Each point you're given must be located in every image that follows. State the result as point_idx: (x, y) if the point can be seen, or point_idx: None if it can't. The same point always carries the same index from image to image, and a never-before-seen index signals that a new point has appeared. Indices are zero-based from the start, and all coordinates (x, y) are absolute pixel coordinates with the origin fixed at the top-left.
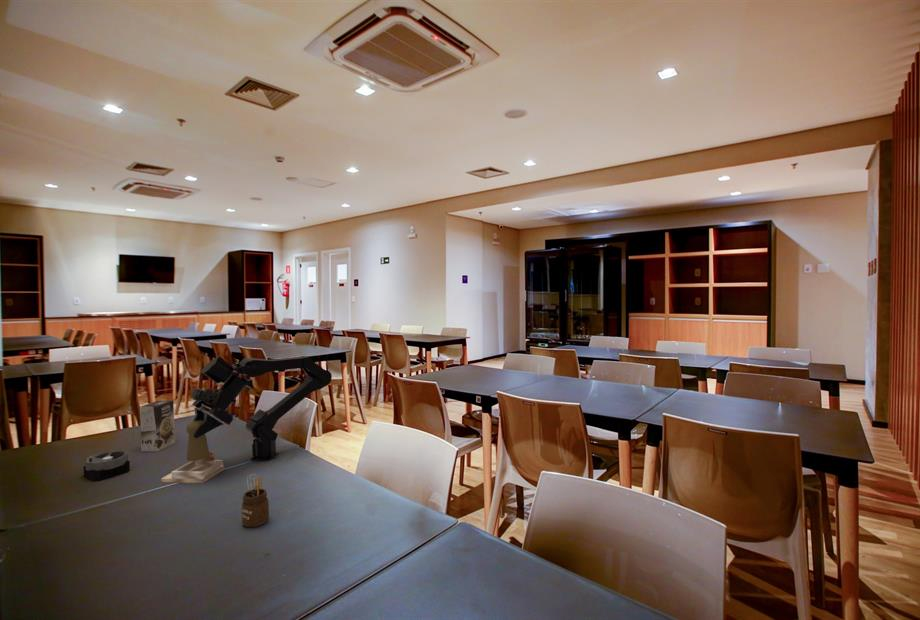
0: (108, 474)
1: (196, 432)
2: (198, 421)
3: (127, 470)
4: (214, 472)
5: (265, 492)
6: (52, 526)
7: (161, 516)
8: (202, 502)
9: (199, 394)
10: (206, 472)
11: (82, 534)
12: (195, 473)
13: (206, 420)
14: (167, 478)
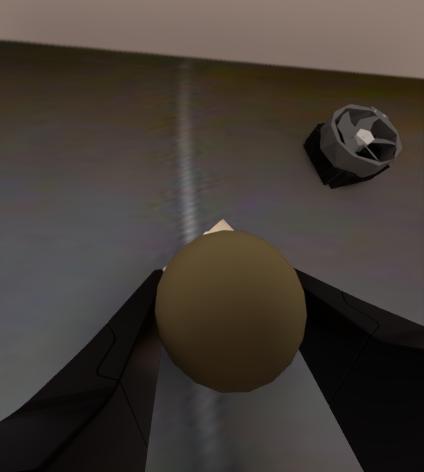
0: (315, 153)
1: (146, 283)
2: (224, 320)
3: (326, 182)
4: None
5: None
6: (146, 84)
7: (20, 190)
8: (7, 269)
9: None
10: None
11: (73, 101)
12: None
13: (12, 417)
14: (213, 229)
